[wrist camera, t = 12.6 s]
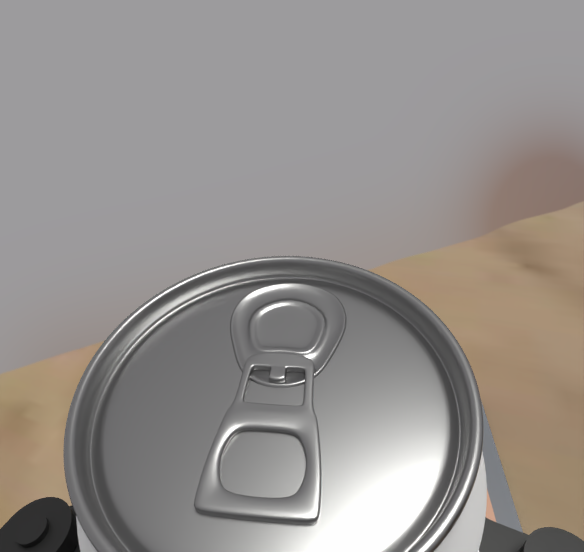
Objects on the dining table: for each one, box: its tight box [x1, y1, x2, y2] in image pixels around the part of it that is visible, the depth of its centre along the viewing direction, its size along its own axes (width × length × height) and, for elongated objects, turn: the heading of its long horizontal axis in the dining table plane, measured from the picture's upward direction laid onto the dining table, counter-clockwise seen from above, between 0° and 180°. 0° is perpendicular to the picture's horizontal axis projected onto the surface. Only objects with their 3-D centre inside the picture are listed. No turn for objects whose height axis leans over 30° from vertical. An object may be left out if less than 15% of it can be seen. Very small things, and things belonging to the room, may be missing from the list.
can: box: [64, 256, 487, 552], centre depth 10 cm, size 6×6×12 cm
